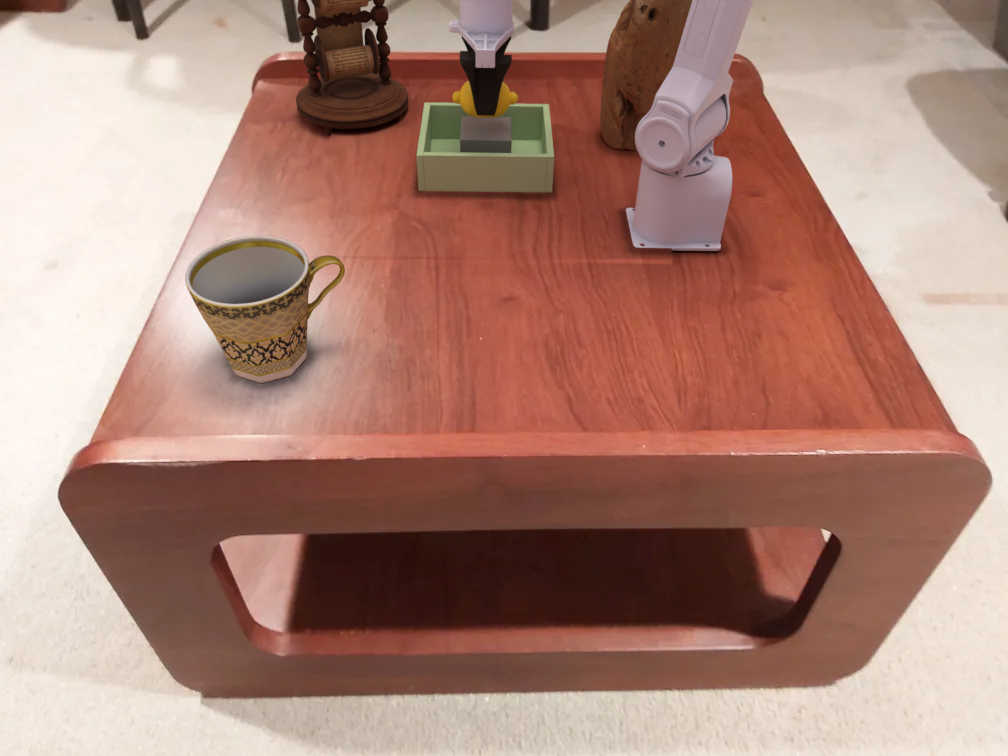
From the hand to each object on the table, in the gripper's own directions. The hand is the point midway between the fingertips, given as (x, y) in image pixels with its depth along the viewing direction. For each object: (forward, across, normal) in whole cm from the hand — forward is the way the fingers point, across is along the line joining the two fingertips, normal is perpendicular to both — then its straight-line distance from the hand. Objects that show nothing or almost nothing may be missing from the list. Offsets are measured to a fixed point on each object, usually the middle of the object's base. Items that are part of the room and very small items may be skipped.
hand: (486, 104), depth 95 cm
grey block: (+7, 0, 0) cm, 7 cm away
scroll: (+8, -14, -18) cm, 24 cm away
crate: (+8, 0, 0) cm, 8 cm away
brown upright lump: (+8, -7, +20) cm, 23 cm away
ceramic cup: (+8, +35, -18) cm, 40 cm away
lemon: (+1, 0, 0) cm, 1 cm away
